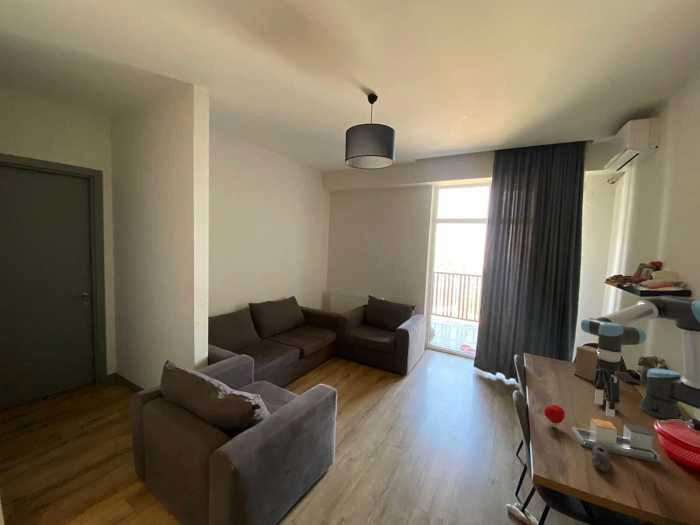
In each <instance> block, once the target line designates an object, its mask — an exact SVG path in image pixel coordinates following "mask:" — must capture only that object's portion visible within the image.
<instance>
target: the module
mask: <svg viewBox="0 0 700 525" xmlns="http://www.w3.org/2000/svg"><path fill="white" fill-rule="evenodd" d="M589 425H590V426H589V430H590V434H589V436H590V437H591V438H592V440H594V441H598V442H603V443H608V444H613V445H616V436H618V434H617V432H618V429H617V427H615V426H614V424H613V423H612V422H611V421H608V420H602V419H596V418H590V422H589Z"/></svg>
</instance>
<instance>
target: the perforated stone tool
mask: <svg viewBox="0 0 700 525" xmlns="http://www.w3.org/2000/svg"><path fill="white" fill-rule="evenodd" d="M591 456H592V458H591V461H592V464H593V466H594V467H595V468H597V469H598V470H601V471H602V472H605V473H607V472H608V471H609V469H610V452H608V450H607V448H606V446H605V445H604V444H603V443H601V442H598V443H596V444H595V445H594V447H593V448H592V451H591Z"/></svg>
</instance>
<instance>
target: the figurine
mask: <svg viewBox="0 0 700 525" xmlns="http://www.w3.org/2000/svg"><path fill="white" fill-rule="evenodd" d="M604 389H605V390H603V391H604V395H603V405H600V404H598V405H599V406H600V407H601V408H602V409H605V410H606V402H607V401H606V399H608V395H607V388H606V384H605V385H604ZM593 398H595V395H594V397H593ZM615 405H617V406H618V405H619V403H616V404H615Z"/></svg>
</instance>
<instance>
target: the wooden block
mask: <svg viewBox="0 0 700 525" xmlns="http://www.w3.org/2000/svg"><path fill="white" fill-rule="evenodd" d="M596 350H598V348H596V347H592V346H589V345H580V346H576V352H575V365H574V375H575V374H576V375H578V376H577V377H579V376H580V377H579V378H581V377H582V378H581V379H583V380H586V379H587V380H586V381H588V380H589V382H592V381H593V382H594V377H595V372H596V360H597V357H598V356H597V352H596ZM576 375H575V376H576Z"/></svg>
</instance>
